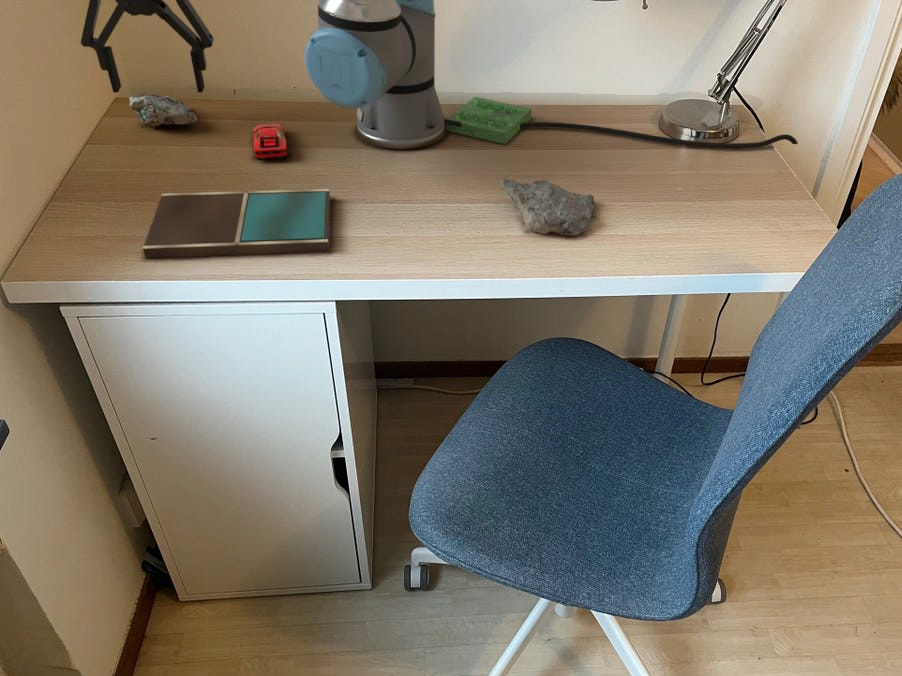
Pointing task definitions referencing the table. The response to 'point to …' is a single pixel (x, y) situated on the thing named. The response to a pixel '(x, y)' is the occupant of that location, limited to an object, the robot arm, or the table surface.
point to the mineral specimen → (161, 110)
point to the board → (239, 223)
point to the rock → (550, 207)
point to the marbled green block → (489, 120)
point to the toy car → (269, 141)
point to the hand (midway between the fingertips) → (159, 89)
